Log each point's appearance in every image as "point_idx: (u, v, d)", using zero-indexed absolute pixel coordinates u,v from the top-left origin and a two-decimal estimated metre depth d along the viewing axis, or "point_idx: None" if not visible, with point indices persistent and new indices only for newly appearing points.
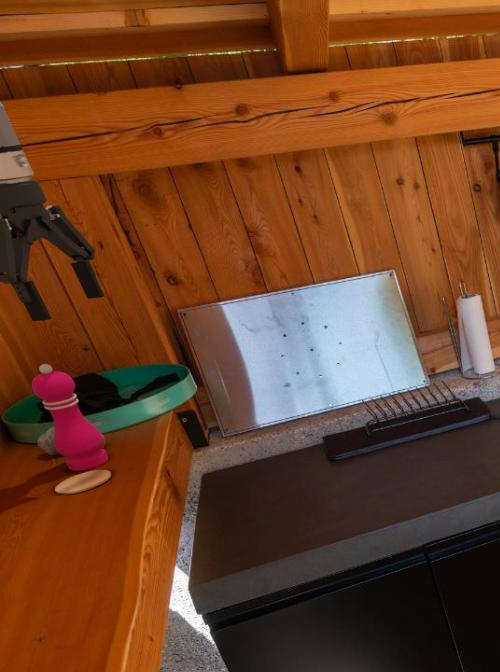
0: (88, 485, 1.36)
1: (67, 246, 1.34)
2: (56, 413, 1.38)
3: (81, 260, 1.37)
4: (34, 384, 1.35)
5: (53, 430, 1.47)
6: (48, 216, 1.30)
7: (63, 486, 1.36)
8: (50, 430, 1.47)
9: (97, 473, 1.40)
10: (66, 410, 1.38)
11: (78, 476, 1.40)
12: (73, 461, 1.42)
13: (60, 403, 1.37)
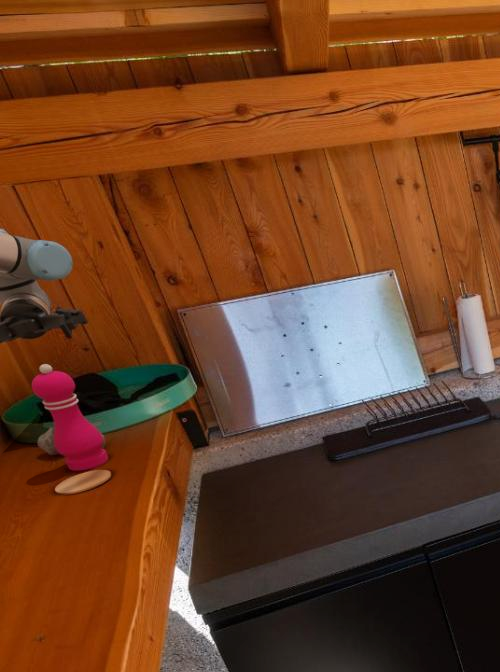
0: (88, 485, 1.36)
1: None
2: (56, 413, 1.38)
3: None
4: (34, 384, 1.35)
5: (53, 430, 1.47)
6: None
7: (63, 486, 1.36)
8: (50, 430, 1.47)
9: (97, 473, 1.40)
10: (66, 410, 1.38)
11: (78, 476, 1.40)
12: (73, 461, 1.42)
13: (60, 403, 1.37)
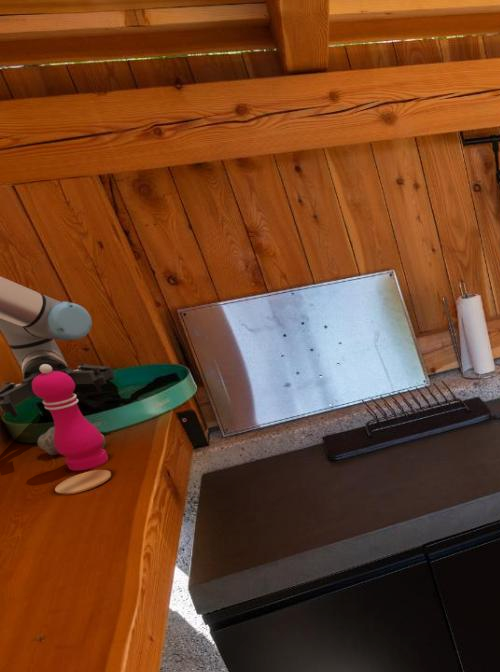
0: (88, 485, 1.36)
1: (23, 397, 1.48)
2: (56, 413, 1.38)
3: None
4: (34, 384, 1.35)
5: (53, 430, 1.47)
6: None
7: (63, 486, 1.36)
8: (50, 430, 1.47)
9: (97, 473, 1.40)
10: (66, 410, 1.38)
11: (78, 476, 1.40)
12: (73, 461, 1.42)
13: (60, 403, 1.37)
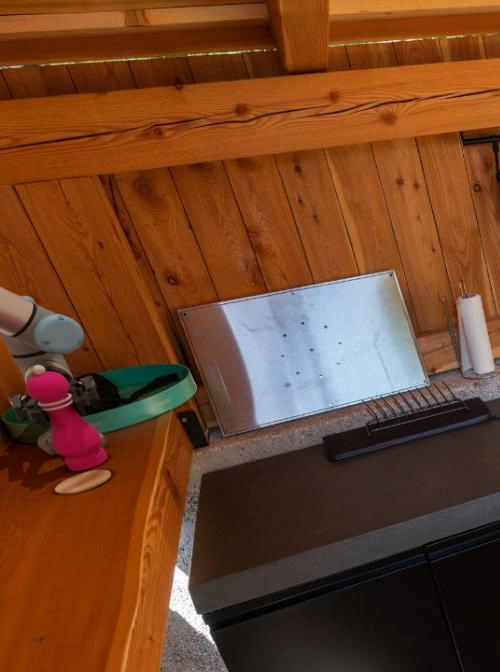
0: (88, 485, 1.36)
1: None
2: (52, 414, 1.37)
3: None
4: (28, 386, 1.34)
5: None
6: None
7: (63, 486, 1.36)
8: (50, 430, 1.47)
9: (97, 473, 1.40)
10: (62, 410, 1.38)
11: (78, 476, 1.40)
12: (73, 461, 1.41)
13: (55, 404, 1.37)
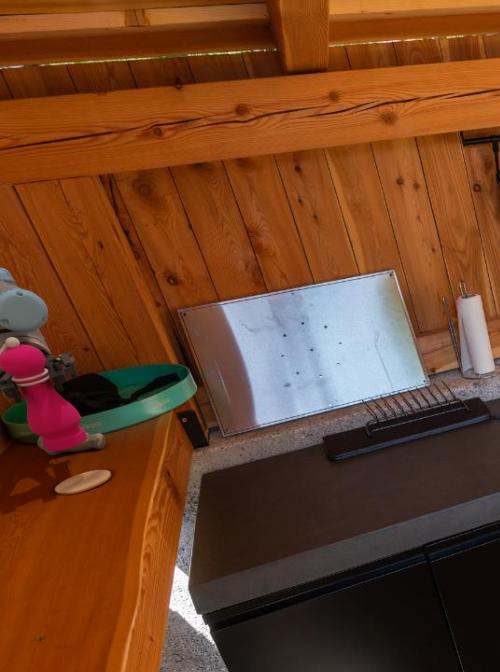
0: (88, 485, 1.36)
1: None
2: (27, 390, 1.29)
3: None
4: (1, 359, 1.26)
5: None
6: None
7: (63, 486, 1.36)
8: None
9: (97, 473, 1.40)
10: (38, 386, 1.29)
11: (78, 476, 1.40)
12: (50, 441, 1.33)
13: (30, 379, 1.28)
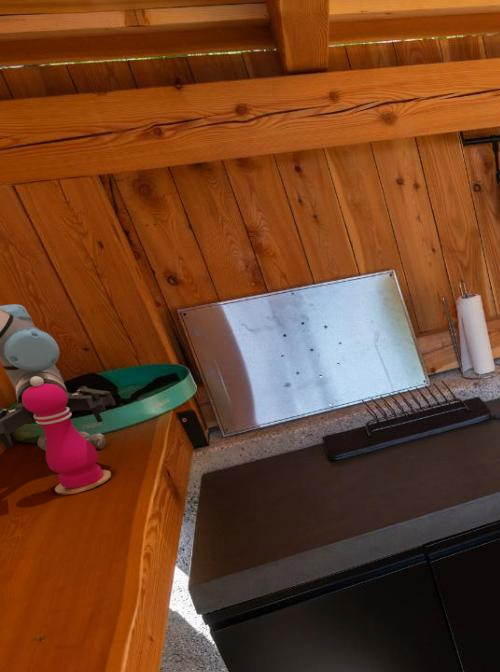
0: (88, 485, 1.36)
1: (18, 425, 1.34)
2: (48, 428, 1.31)
3: None
4: (24, 397, 1.28)
5: None
6: None
7: None
8: None
9: None
10: (59, 424, 1.31)
11: None
12: (66, 478, 1.34)
13: (52, 417, 1.30)
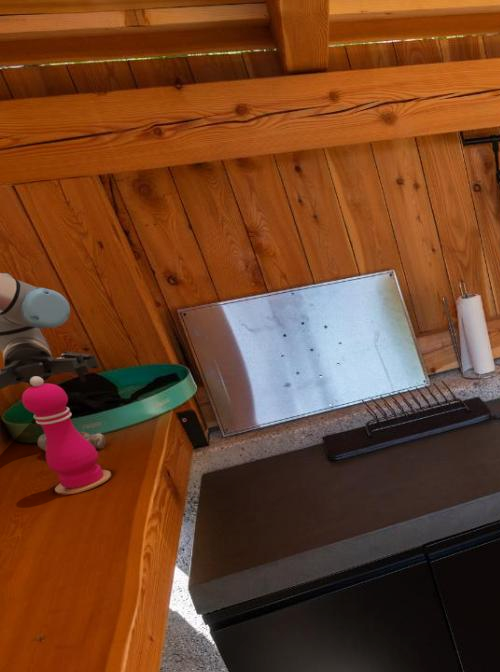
0: (88, 485, 1.36)
1: (2, 385, 1.41)
2: (48, 428, 1.31)
3: None
4: (24, 397, 1.28)
5: None
6: None
7: None
8: None
9: None
10: (59, 424, 1.31)
11: None
12: (66, 478, 1.34)
13: (52, 417, 1.30)
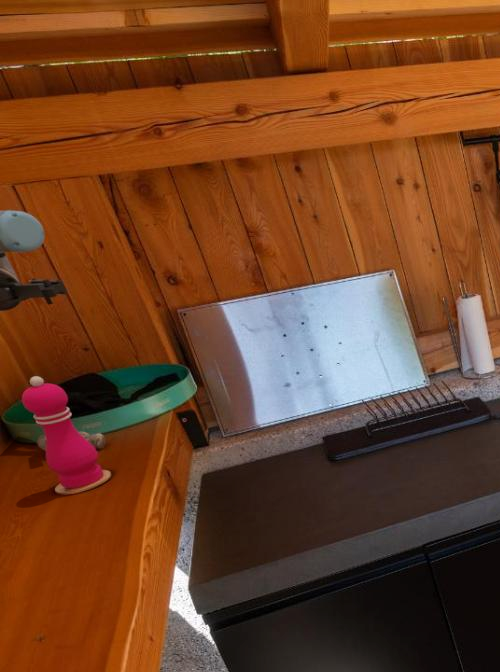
0: (88, 485, 1.36)
1: None
2: (48, 428, 1.31)
3: None
4: (24, 397, 1.28)
5: None
6: None
7: None
8: None
9: None
10: (59, 424, 1.31)
11: None
12: (66, 478, 1.34)
13: (52, 417, 1.30)
